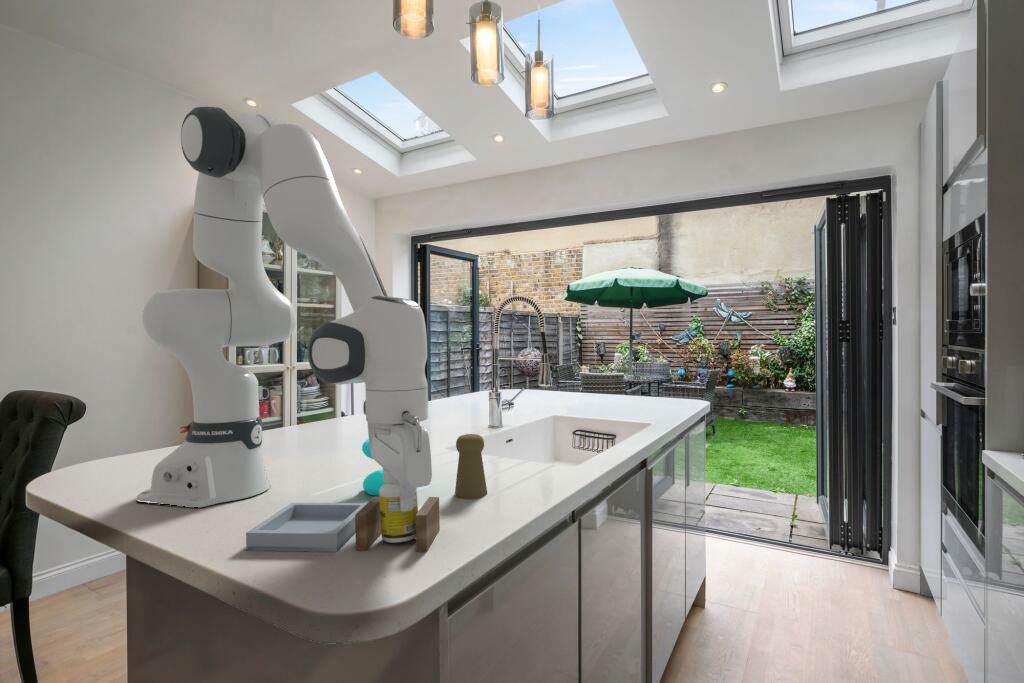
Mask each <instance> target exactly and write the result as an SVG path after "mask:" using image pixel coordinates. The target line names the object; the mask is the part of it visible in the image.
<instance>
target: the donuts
mask: <svg viewBox="0 0 1024 683" xmlns="http://www.w3.org/2000/svg"><path fill="white" fill-rule="evenodd" d="M361 451H362V452H363V454H364V456H366V457H367V458H369V459H371V460H374V459H373V458H372V455H371V451H370V445H369V438H368V439H366V440H365V441H364V442H363V443H362V446H361ZM383 480H384V479H383V468H381V469H378V470H375V471H373V472H371V473H369V474H368V475H367V476H365V478H364V479H363V483H362V487H363V488H362V489H363V490H364V492H366V494H368V495H371V496H373V497H379V490H380V488H381V487H382V486H383V485H384V484H385V482H384V481H383Z"/></svg>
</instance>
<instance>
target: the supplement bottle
mask: <svg viewBox="0 0 1024 683" xmlns="http://www.w3.org/2000/svg"><path fill="white" fill-rule="evenodd" d="M383 479H384V480H383V481H384V482H385V484H384V485H383V486H382V487H381V488H380V490H379V496H378V497H379V500H380V519H381V534H380V535H381V538H382V540H383V541H384V542H387V543H392V544H395V543H403V542H409V541H411V540H414V539H416V514H417V513H418V511H419V504H418V503H419V501H418V487H416V491H415V494H414V498H413V509H412V510H411V511H405V512H403V511H401V510H400V509H399V507H398V497H399V496H400V487H399V482H398V481H397V480H396V479H395V478H394V477H393V476H392V475H390V474H389V473H388V472H387V471H386V470H383Z"/></svg>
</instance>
